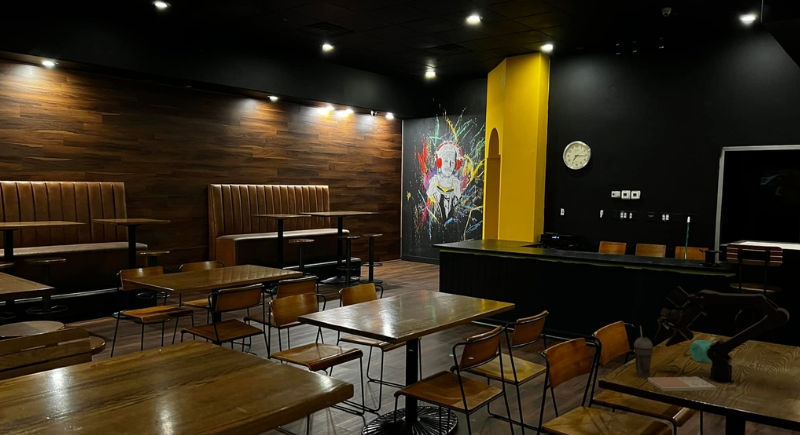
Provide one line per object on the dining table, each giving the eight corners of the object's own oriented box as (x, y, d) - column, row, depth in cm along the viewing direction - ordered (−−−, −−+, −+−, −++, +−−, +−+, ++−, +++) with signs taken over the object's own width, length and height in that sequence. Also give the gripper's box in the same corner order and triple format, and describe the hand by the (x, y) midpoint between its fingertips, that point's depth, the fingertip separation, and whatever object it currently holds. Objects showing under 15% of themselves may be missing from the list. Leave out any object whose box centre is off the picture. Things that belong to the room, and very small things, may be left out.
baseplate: (697, 379, 226) (697, 374, 226) (716, 390, 214) (716, 384, 214) (647, 380, 225) (647, 375, 225) (663, 391, 213) (663, 385, 213)
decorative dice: (689, 358, 256) (689, 340, 256) (704, 357, 258) (704, 339, 258) (703, 363, 248) (703, 345, 248) (718, 362, 250) (718, 344, 250)
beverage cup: (654, 379, 227) (655, 328, 226) (634, 378, 228) (635, 327, 228) (650, 373, 234) (651, 324, 233) (631, 372, 235) (632, 323, 235)
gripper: (662, 297, 240) (635, 323, 240) (686, 305, 221) (658, 334, 221) (680, 315, 241) (654, 342, 241) (706, 325, 222) (677, 354, 222)
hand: (660, 343), depth 231 cm, fingers open, 9 cm apart
